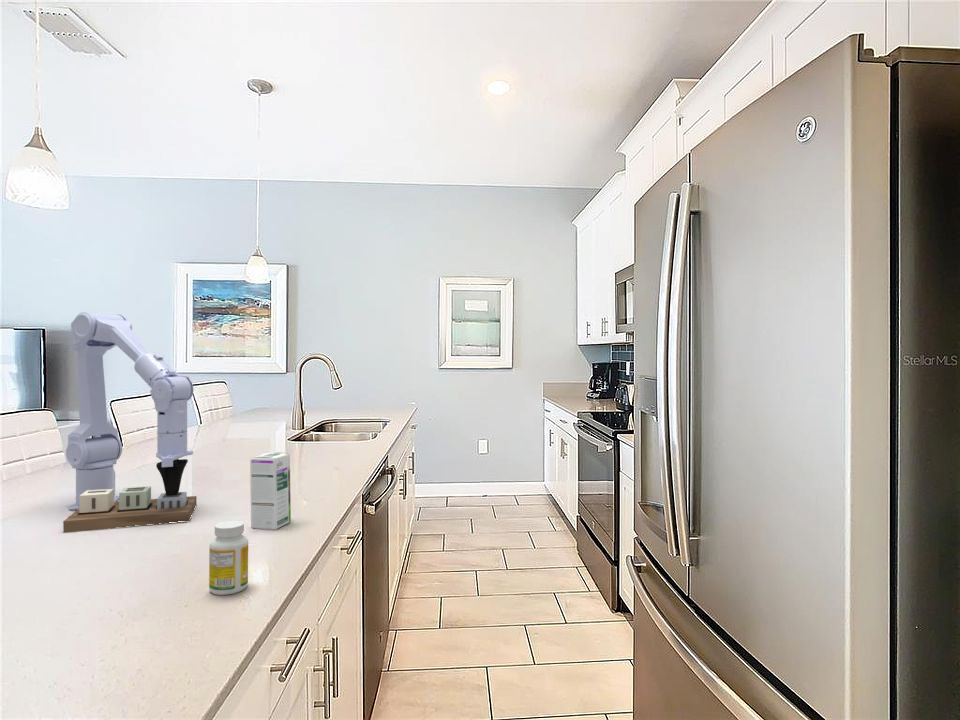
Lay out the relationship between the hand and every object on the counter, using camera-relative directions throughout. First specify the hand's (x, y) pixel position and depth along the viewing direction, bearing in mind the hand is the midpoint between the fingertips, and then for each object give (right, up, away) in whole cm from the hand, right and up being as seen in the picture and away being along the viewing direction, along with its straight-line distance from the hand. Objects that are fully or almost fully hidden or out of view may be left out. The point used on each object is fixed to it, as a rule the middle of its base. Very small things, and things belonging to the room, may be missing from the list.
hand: (172, 494), depth 126 cm
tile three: (0, -4, 0) cm, 4 cm away
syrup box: (+24, -5, -7) cm, 25 cm away
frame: (-7, -4, -2) cm, 8 cm away
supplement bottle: (+29, -5, -39) cm, 49 cm away
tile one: (-13, -2, -5) cm, 14 cm away
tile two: (-7, -2, -2) cm, 7 cm away
